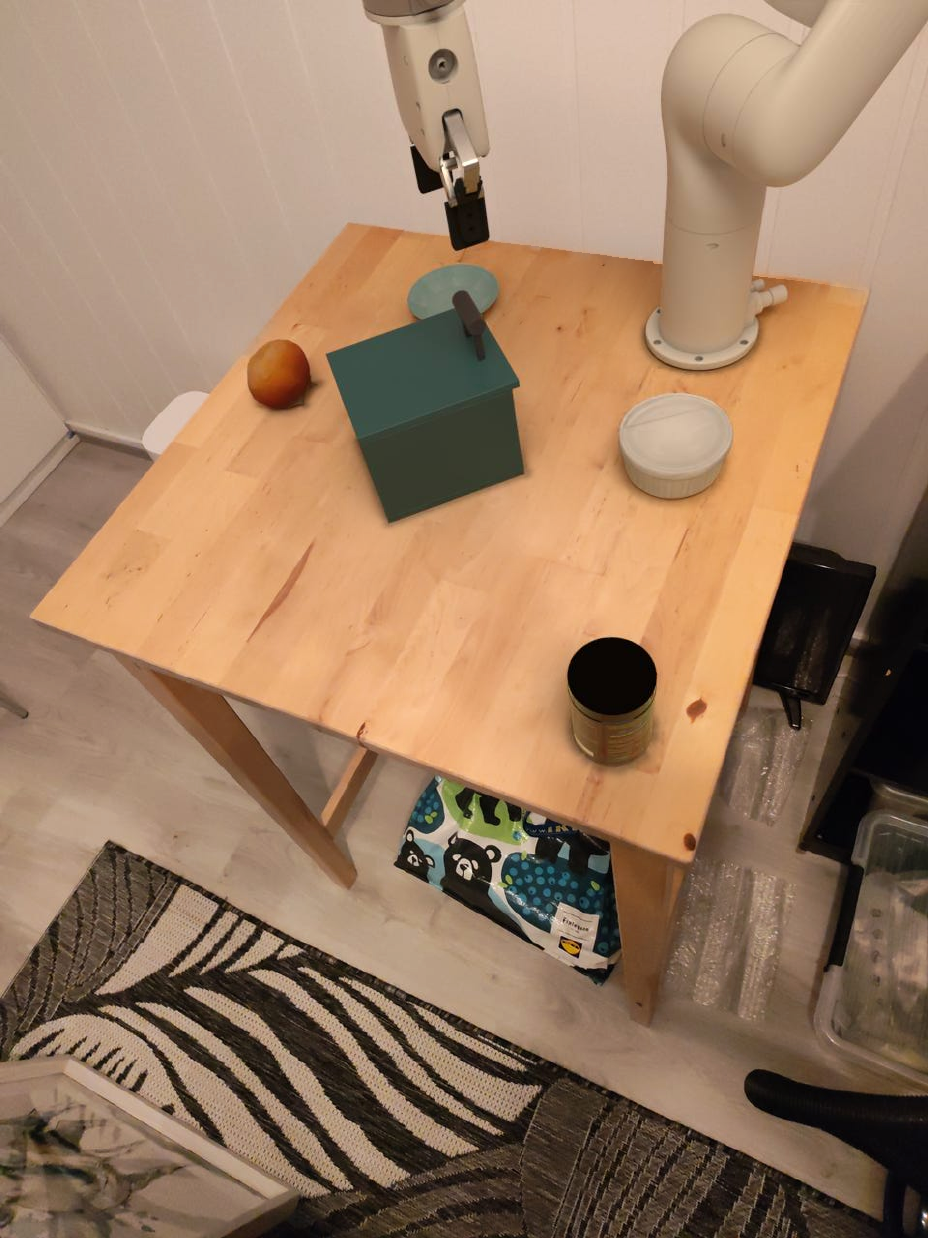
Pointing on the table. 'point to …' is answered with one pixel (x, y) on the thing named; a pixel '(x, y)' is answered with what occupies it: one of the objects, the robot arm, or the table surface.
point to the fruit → (279, 374)
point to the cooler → (445, 456)
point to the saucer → (451, 289)
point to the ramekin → (674, 444)
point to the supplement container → (612, 699)
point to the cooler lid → (420, 371)
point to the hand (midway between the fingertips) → (453, 214)
